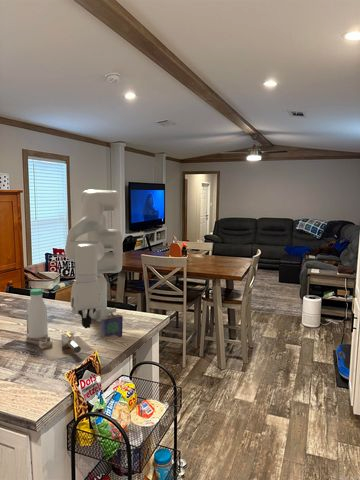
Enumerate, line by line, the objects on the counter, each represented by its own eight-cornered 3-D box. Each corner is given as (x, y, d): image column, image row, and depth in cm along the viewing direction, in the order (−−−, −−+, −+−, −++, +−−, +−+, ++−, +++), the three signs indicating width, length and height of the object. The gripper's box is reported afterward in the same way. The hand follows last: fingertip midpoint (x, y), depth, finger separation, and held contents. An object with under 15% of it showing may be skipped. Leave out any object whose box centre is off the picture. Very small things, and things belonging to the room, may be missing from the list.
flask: (101, 341, 144) (101, 315, 142) (99, 338, 146) (99, 313, 145) (123, 336, 148) (123, 312, 147) (120, 334, 151) (121, 309, 150)
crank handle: (59, 345, 135) (59, 332, 134) (71, 342, 137) (70, 330, 137) (72, 358, 124) (72, 345, 124) (84, 355, 127) (84, 342, 126)
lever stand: (78, 339, 144) (78, 328, 144) (93, 353, 133) (93, 340, 132) (37, 349, 135) (36, 336, 134) (49, 364, 123) (49, 351, 122)
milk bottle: (51, 335, 147) (50, 288, 145) (38, 343, 140) (37, 293, 137) (36, 333, 150) (35, 286, 147) (22, 339, 143) (21, 291, 140)
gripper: (101, 274, 137) (101, 320, 139) (62, 278, 128) (62, 328, 130) (109, 277, 131) (109, 326, 133) (69, 282, 122) (70, 334, 124)
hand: (86, 326), depth 131 cm, fingers closed
